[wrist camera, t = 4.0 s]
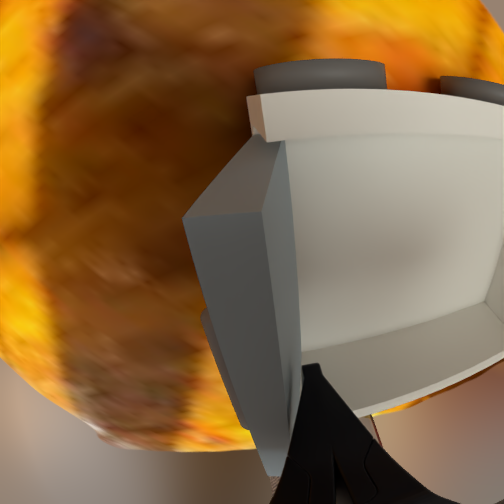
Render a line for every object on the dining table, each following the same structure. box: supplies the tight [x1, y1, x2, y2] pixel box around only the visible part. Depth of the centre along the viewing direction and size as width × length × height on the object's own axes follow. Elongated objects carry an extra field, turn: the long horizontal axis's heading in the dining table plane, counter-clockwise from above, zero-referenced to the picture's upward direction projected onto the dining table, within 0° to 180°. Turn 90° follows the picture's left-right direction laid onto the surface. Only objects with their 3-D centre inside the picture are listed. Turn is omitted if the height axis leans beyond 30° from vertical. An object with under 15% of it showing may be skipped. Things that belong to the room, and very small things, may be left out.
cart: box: [246, 59, 504, 418], centre depth 14 cm, size 18×18×10 cm
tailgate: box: [182, 134, 301, 477], centre depth 11 cm, size 2×13×8 cm, turn 8°
